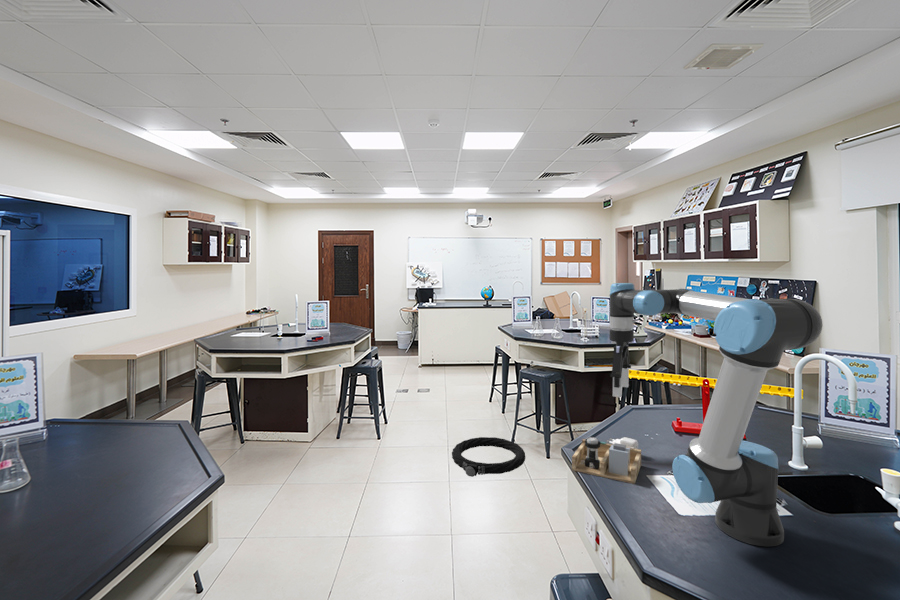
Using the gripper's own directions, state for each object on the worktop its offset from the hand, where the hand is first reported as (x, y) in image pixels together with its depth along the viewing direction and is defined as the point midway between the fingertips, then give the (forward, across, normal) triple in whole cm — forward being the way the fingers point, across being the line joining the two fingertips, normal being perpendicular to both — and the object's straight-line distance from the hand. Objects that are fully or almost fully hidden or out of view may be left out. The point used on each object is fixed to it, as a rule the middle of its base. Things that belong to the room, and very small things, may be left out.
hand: (620, 391), depth 146 cm
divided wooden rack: (+29, +3, +5) cm, 29 cm away
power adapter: (+29, +19, +2) cm, 35 cm away
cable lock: (+29, -12, +45) cm, 55 cm away
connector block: (+28, 0, 0) cm, 28 cm away
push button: (+28, -1, +10) cm, 30 cm away
